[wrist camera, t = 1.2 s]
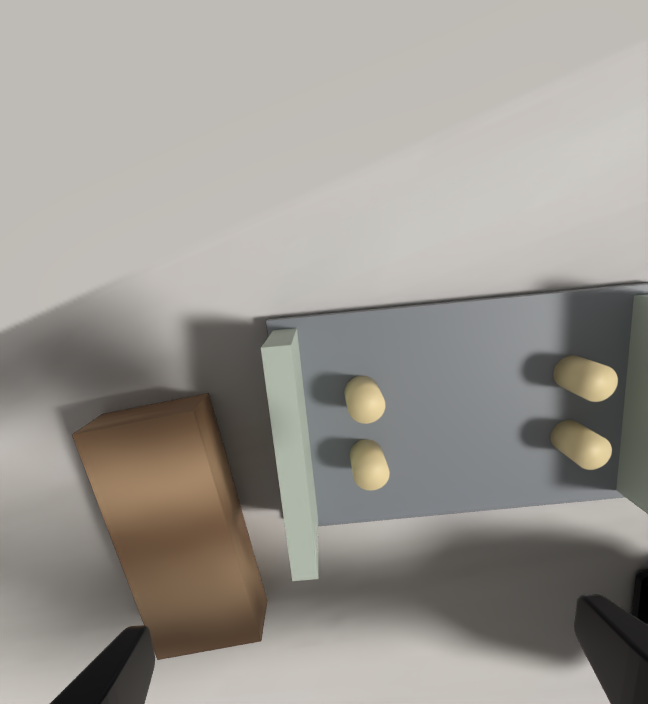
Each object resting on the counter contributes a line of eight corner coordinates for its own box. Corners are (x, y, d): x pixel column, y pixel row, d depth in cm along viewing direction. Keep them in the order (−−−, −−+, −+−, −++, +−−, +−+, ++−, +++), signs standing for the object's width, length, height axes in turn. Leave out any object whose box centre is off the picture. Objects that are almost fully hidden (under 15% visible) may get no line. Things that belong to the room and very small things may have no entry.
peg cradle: (630, 487, 22) (719, 550, 17) (293, 519, 22) (287, 591, 17) (650, 282, 19) (764, 287, 14) (267, 319, 19) (251, 336, 14)
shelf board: (268, 595, 24) (261, 641, 21) (176, 611, 24) (157, 659, 21) (210, 390, 21) (193, 410, 18) (106, 411, 21) (71, 434, 18)
